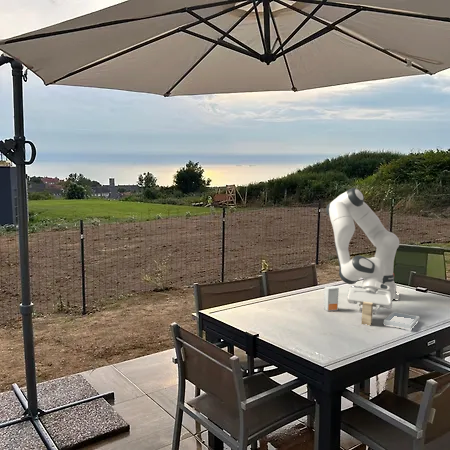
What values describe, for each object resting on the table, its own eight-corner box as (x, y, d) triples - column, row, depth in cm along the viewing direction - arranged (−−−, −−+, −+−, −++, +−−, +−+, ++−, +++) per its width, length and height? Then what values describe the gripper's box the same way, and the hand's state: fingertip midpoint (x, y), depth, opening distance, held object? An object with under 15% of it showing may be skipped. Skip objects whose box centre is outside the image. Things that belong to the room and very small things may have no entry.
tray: (393, 317, 206) (393, 311, 206) (419, 322, 199) (419, 316, 199) (383, 325, 194) (383, 319, 193) (410, 331, 187) (411, 325, 186)
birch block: (363, 321, 199) (364, 301, 198) (372, 323, 197) (372, 302, 196) (361, 324, 195) (362, 303, 194) (370, 325, 194) (371, 304, 193)
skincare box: (327, 311, 214) (328, 288, 213) (323, 309, 219) (324, 286, 217) (338, 310, 216) (338, 287, 215) (333, 308, 220) (334, 285, 219)
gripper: (349, 281, 205) (343, 306, 198) (393, 287, 196) (389, 313, 188) (350, 288, 210) (345, 312, 202) (394, 294, 200) (390, 319, 193)
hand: (367, 313), depth 195 cm, fingers open, 5 cm apart
